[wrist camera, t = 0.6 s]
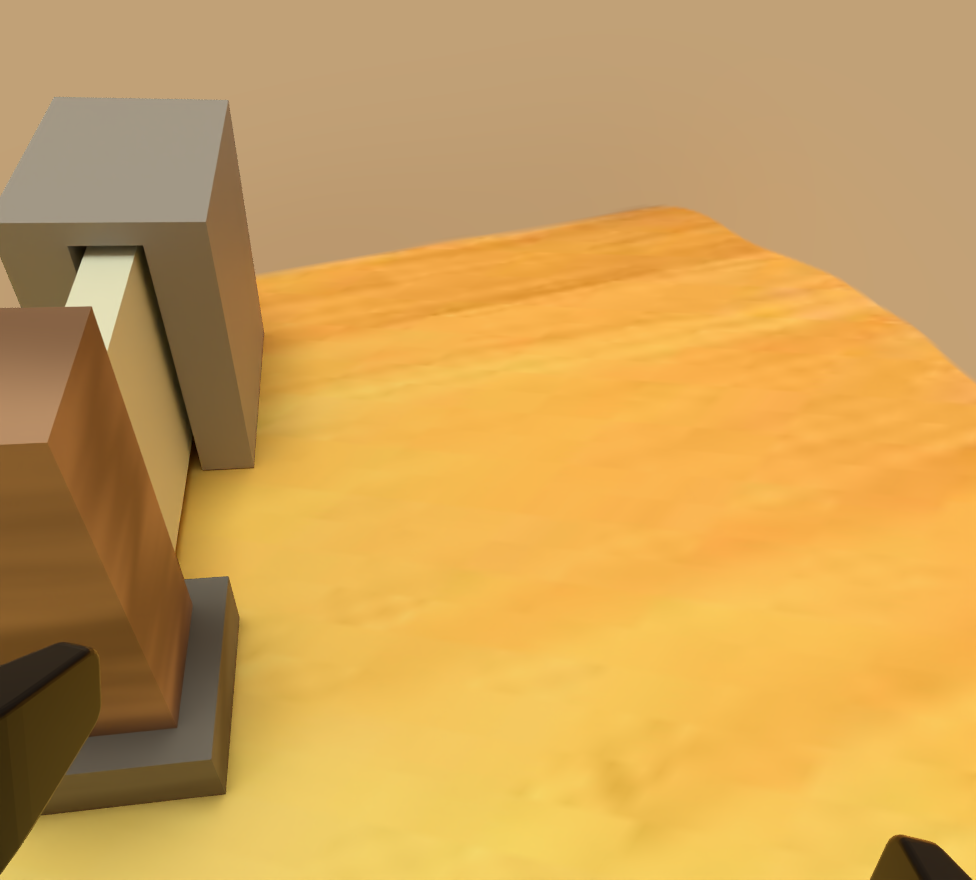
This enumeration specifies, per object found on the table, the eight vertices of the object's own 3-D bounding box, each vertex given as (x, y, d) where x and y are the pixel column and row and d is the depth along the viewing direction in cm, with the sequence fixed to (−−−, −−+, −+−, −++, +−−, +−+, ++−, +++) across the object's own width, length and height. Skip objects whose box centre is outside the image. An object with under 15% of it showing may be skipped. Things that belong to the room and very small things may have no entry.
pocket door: (168, 594, 27) (94, 395, 20) (121, 598, 27) (32, 397, 20) (193, 428, 32) (142, 229, 26) (155, 430, 32) (93, 229, 26)
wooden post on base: (225, 793, 23) (97, 482, 14) (5, 819, 23) (-308, 503, 13) (239, 617, 28) (148, 277, 18) (54, 632, 27) (-154, 282, 17)
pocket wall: (253, 467, 32) (205, 222, 24) (91, 475, 31) (-14, 223, 23) (263, 332, 38) (228, 99, 30) (127, 336, 37) (54, 97, 29)
